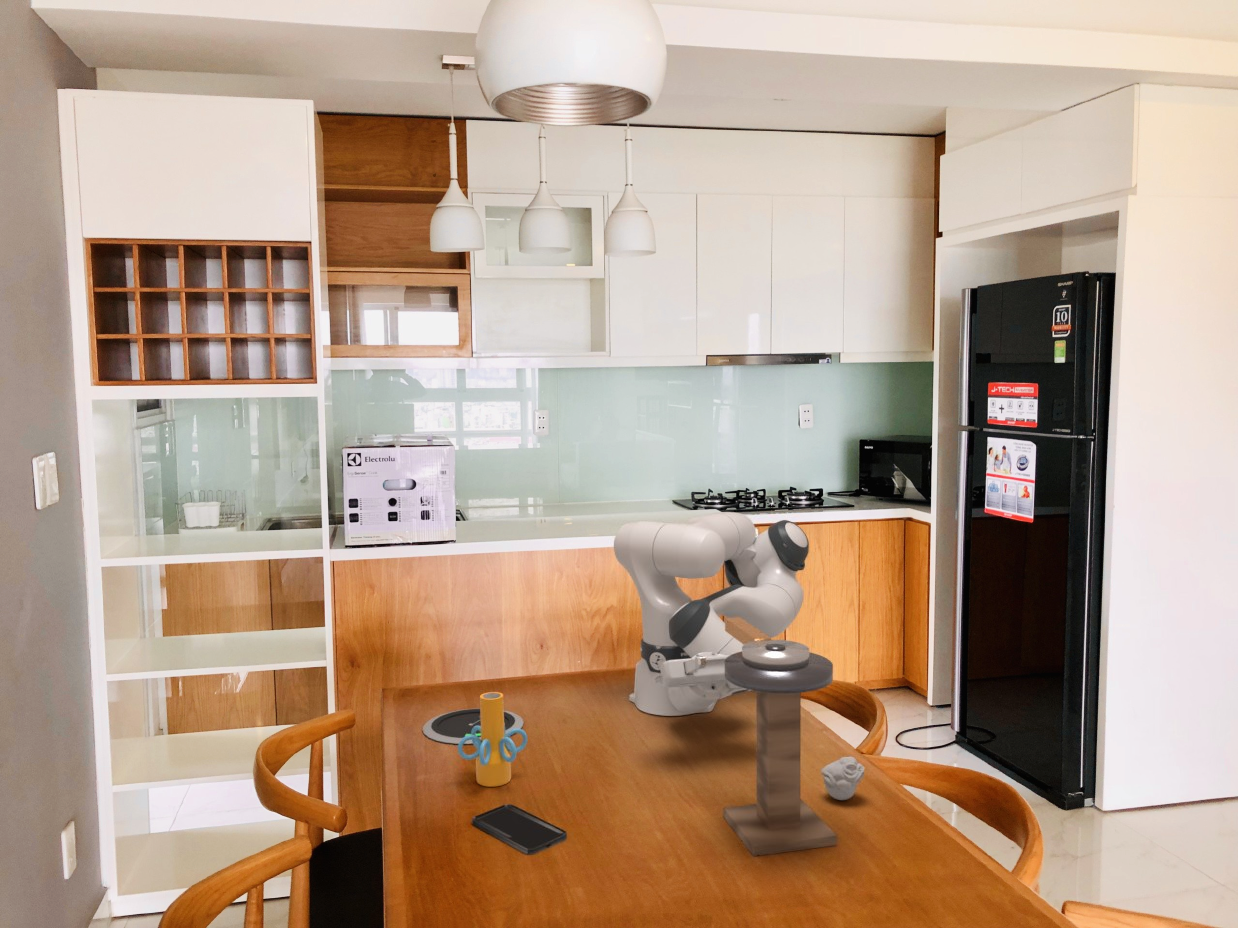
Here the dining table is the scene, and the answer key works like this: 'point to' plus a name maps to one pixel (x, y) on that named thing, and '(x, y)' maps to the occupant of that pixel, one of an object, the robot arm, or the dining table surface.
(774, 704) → the pedestal
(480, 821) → the phone
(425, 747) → the dining table surface
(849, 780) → the frog figurine
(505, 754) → the cylinder
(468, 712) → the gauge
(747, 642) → the cover
